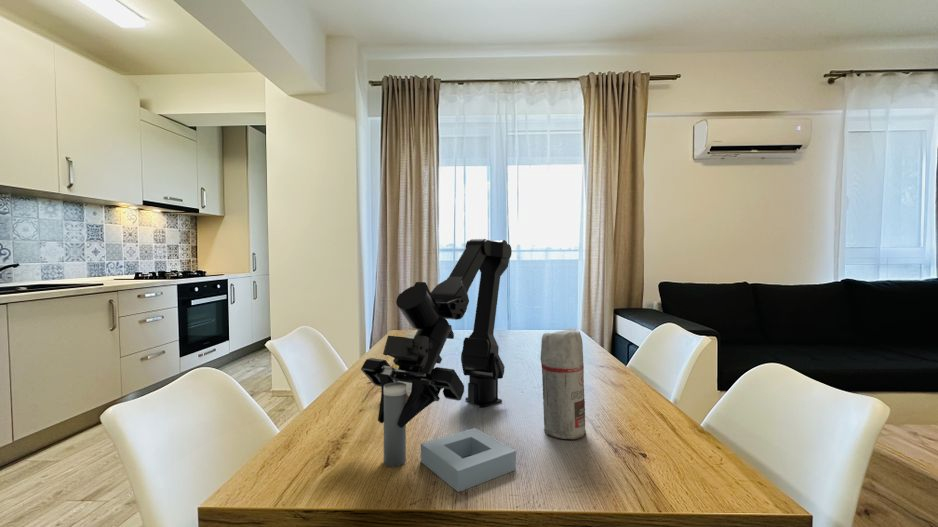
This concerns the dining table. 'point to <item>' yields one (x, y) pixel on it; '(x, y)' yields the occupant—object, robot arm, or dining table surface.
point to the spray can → (563, 384)
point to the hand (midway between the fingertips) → (389, 424)
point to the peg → (394, 424)
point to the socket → (467, 458)
